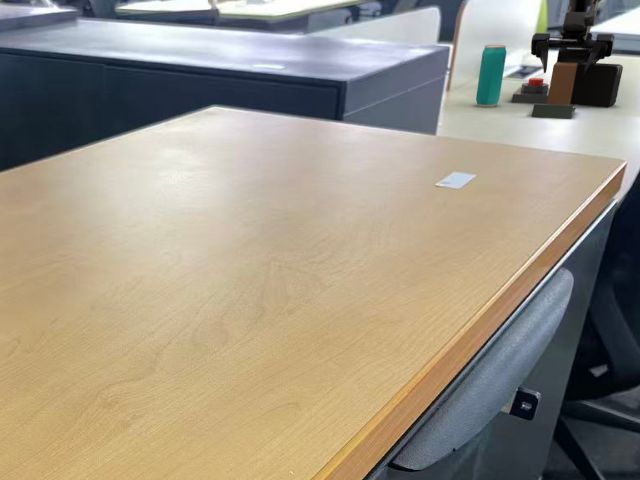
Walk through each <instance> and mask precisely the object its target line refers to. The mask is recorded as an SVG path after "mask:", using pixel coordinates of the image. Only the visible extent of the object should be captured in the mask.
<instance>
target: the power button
mask: <svg viewBox="0 0 640 480" xmlns="http://www.w3.org/2000/svg"><path fill="white" fill-rule="evenodd" d="M544 81H545V80H544V78H541V77H531V78H528V82H527V83H528V85H533V86H540V85H543V83H544Z"/></svg>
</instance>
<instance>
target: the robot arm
mask: <svg viewBox="0 0 640 480" xmlns="http://www.w3.org/2000/svg"><path fill="white" fill-rule="evenodd" d="M601 1H602V0H568V4H569V7H568V10H567V11H568V12H566V13H565V16H564V21H563V24H562V27H561V31H560V36H561V37H560V38H551V32H535V33H534V34H533V35H532V38H531V42H530V44H531V46H530V54H531V56H535V58H537V59H539V60H540V62H541V65H542V71H543V74H546V73H547V70H548V60H549V51H550V49H554V48H558V52H557V57H556V58H557V59H556V62H564V63H578V65H579V64H582V63H586V62H587V63H586V66H585V70H584V74H586V73H587V72H588V71H589V70H590V69H591V67H592V66H593V65H594V64H595V63H599V61H600V60H604V59H606V58H610V57H612V54H613V49H614V43H615V38H616V36H615V34H614V33H597V34H596V38H595V39H593V34H592V32H591V29H592V27H594V26H595V22H596V16H597V7H598V3H600V2H601Z"/></svg>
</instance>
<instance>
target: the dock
mask: <svg viewBox="0 0 640 480" xmlns="http://www.w3.org/2000/svg"><path fill="white" fill-rule="evenodd" d="M574 106H575V105H573V104H570V105H558V104H536V103H533V108H532V114H531V117H533V118H549V119H569V120H571V119H572V118H573V116H574V114H575V112H576V107H574Z"/></svg>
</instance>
